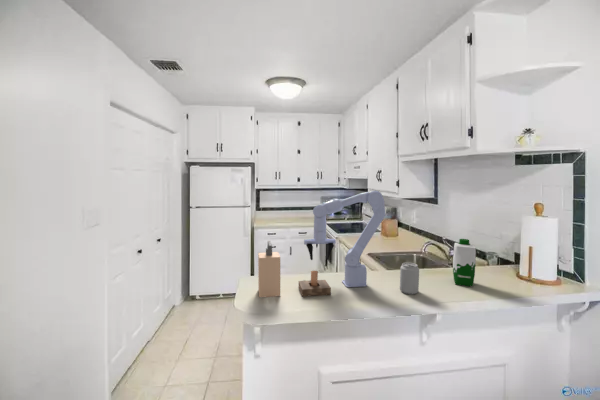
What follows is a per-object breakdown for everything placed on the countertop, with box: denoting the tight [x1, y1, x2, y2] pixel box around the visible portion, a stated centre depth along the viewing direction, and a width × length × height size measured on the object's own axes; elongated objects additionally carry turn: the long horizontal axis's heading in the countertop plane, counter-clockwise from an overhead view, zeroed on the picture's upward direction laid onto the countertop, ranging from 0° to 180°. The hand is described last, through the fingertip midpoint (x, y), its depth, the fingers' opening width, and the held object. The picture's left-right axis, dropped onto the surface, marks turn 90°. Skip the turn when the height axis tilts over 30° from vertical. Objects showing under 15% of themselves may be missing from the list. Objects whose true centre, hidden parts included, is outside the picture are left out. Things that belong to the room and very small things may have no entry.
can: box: [399, 262, 420, 295], centre depth 127 cm, size 8×8×12 cm
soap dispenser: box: [257, 240, 281, 298], centre depth 123 cm, size 13×9×22 cm
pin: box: [310, 270, 319, 286], centre depth 127 cm, size 3×3×8 cm
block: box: [298, 279, 332, 298], centre depth 127 cm, size 12×10×3 cm
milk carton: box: [452, 238, 477, 287], centre depth 137 cm, size 9×9×20 cm
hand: (319, 259), depth 139 cm, fingers open, 7 cm apart
